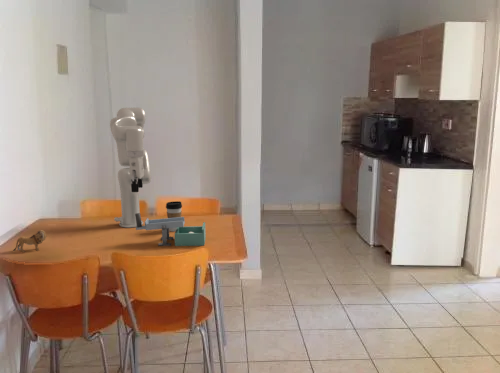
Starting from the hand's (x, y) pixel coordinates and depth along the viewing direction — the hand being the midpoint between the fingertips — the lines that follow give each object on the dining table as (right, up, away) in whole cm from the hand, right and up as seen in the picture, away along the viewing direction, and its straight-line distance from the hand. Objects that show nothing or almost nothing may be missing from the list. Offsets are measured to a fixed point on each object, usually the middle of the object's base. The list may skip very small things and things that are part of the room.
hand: (137, 189), depth 226 cm
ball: (+25, -23, +6) cm, 34 cm away
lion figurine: (-48, -28, -4) cm, 56 cm away
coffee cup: (+14, -22, +25) cm, 36 cm away
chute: (+10, -18, +4) cm, 21 cm away
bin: (+25, -25, +6) cm, 36 cm away
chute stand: (+13, -26, +6) cm, 29 cm away
